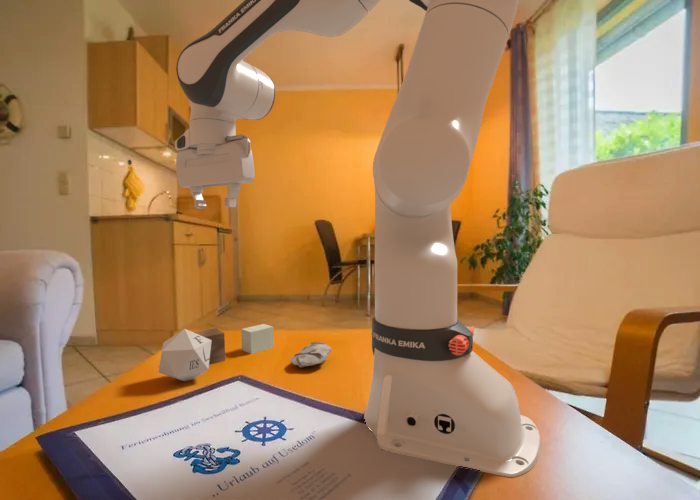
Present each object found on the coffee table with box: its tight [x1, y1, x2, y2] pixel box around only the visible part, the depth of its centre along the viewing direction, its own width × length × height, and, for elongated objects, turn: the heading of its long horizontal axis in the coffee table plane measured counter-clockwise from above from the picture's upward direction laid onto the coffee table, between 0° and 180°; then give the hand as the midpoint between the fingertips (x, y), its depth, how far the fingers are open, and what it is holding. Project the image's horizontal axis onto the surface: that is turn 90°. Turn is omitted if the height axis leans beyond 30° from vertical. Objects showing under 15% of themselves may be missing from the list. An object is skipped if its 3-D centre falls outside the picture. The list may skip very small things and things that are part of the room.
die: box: [158, 328, 212, 383], centre depth 66 cm, size 8×9×10 cm
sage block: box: [241, 323, 275, 355], centre depth 84 cm, size 4×6×5 cm, turn 137°
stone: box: [289, 341, 332, 368], centre depth 75 cm, size 10×7×3 cm
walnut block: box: [193, 328, 226, 365], centre depth 77 cm, size 5×5×6 cm
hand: (215, 207), depth 75 cm, fingers open, 8 cm apart
